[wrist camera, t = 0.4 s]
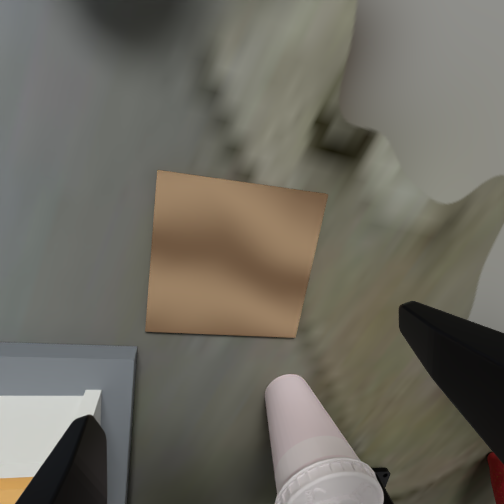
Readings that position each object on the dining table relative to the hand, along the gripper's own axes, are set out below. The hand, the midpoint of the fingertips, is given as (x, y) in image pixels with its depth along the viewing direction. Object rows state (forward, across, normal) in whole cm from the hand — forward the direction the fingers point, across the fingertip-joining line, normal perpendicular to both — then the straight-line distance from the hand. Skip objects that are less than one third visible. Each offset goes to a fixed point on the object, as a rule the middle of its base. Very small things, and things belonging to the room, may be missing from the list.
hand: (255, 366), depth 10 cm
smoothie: (+12, -2, +17) cm, 21 cm away
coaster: (+14, -1, +4) cm, 14 cm away
